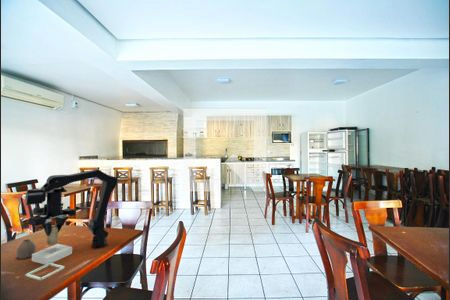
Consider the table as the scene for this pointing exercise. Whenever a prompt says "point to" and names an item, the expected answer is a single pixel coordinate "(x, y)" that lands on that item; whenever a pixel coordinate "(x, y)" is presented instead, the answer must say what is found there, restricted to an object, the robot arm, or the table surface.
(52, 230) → the plug
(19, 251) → the vase
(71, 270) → the table surface
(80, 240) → the table surface
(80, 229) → the table surface
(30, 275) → the tray
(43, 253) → the white block with recess
